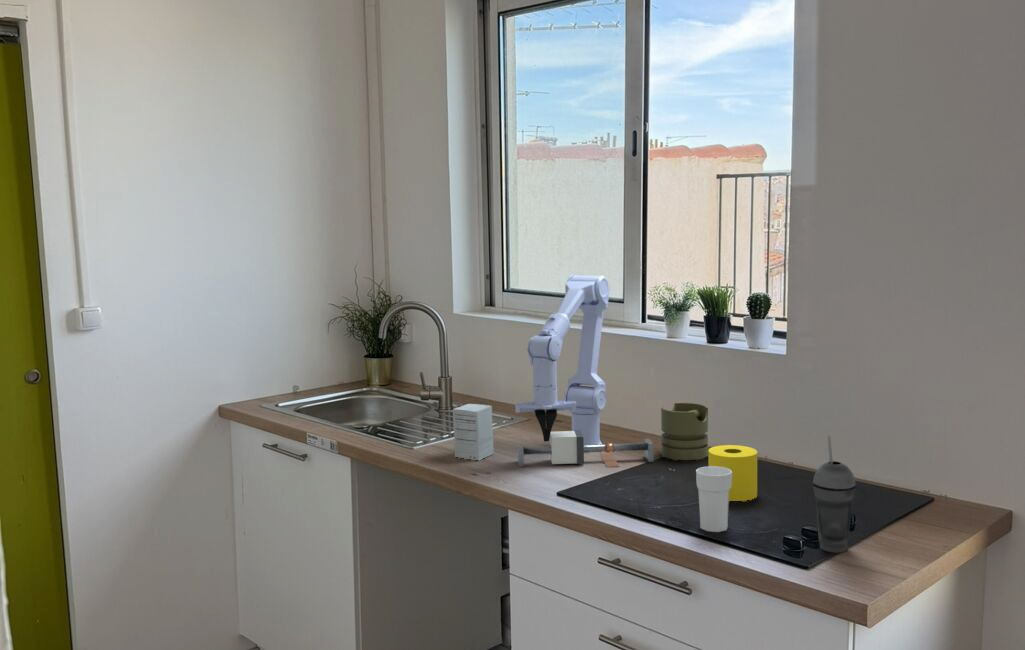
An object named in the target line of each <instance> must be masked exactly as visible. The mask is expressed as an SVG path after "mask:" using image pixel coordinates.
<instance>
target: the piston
mask: <svg viewBox="0 0 1025 650" xmlns="http://www.w3.org/2000/svg"><path fill="white" fill-rule="evenodd" d="M673 405H674V406H673V407H672V408H673V409H672V410H670V409H666V408H664V406H661V407H660V413H661V414H660V415H661V417H660V418H661V419H660V420H661V421H660V422H661V426H660V427H661V431H662V432H663V433H661V435H660V436H661V439H660V440H661V457H663V458H664V457H667V458H672V459H682V460H693V459H702V458H705V457H707V456H708V450H709V435H708V434H707V432H708V431H709V407H708V405H705V404H702V403H696V402H675V403H674V404H673ZM708 457H709V456H708ZM708 457H707V458H708ZM667 458H666V459H667ZM705 459H706V458H705ZM702 460H703V459H702Z"/></svg>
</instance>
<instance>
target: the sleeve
mask: <svg viewBox="0 0 1025 650" xmlns="http://www.w3.org/2000/svg"><path fill="white" fill-rule="evenodd" d="M549 446H551V454H549V456H550V461H551V465H564V464H565V465H566V464H567V465H568V464H577V436H576V434H575V432H574V431H572V430H562V431H560V430H559V431H558V430H557V431H551V433H550V439H549Z"/></svg>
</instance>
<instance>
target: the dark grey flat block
mask: <svg viewBox="0 0 1025 650" xmlns="http://www.w3.org/2000/svg"><path fill="white" fill-rule="evenodd" d="M574 432H575V434H576V436H577V463H576V464H577V465H579V464H585V453H584V438H583V435H582V433H581V430H575V431H574Z"/></svg>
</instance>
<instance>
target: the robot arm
mask: <svg viewBox="0 0 1025 650" xmlns="http://www.w3.org/2000/svg"><path fill="white" fill-rule="evenodd" d="M564 285H565V288H564V289H565V292H564V293H565V295H564V297H563V300H562V302H561V303H560V305H559V308H558V310H557V312H556V313H555V312H554V313H551V314H550V315H549V317H548V318H547V320H546V321H545V323H544V325H543V326H542V328H541V329H540V331H539V332H538V335H537V334H535V335H533V336H532V337H531V338H530V339H529V340H528V344H527V345H528V346H527V348H526V351H527V355H528V357H529V360H530V366H531V367H532V379H533V380H532V383H533V384H532V385H533V391H532V392H533V401H528V402H527V401H526V402H515V413H517V414H519V413H531V412H534V414H535V417H536V419H537V421H538V423H539V425H540V426H539V427H540V429H541V431H542V436H543V442H550V433H551V432H552V429H553V426H554V423H555V421H556V419H557V417H558V412H559V411H560V412H562V411H568V412H570V413H571V431H575V430H581V433H582V435H583V438H584V445H600V444H603V443H602V441H601V439H600V438H601V435H600V434H601V433H600V432H601V431H600V429H601V428H600V412H602V411H603V410H604V408H605V406H606V403H607V392H606V389H607V388H606V386H607V384H606V382H605V381H604V380H603V379H602V378H601V377H600V376H599V375H597V374H598V365H599V356H600V349H601V348H600V347H601V346H600V345H601V338H602V330H603V329H602V328H603V321H604V320H603V319H604V311H605V310H606V309H608V306H609V305H608V304H609V300H610V299H609V297H610V285H609V281H608V280H607V278H606V277H605V275H575V274H572V275H570V276H568V278H567V280H566V282H565V284H564ZM578 309H580V310H581V312H582V314H583V316H582V323H581V325H582V327H581V333H580V343H579V351H578V361H577V371H576V373H575V374H574V375H573V376H571V377H569V378H568V380H567V383H566V384H567V385H566V388H565V391H564V394H563V400H558V373H557V372H558V370H557V369H558V368H557V363H558V362H557V360H558V359H559V358H560V356H561V354H562V353H561V352H562V347H563V344H564V343H563V341H564V338H565V337H566V335H567V333H568V332H569V330H570V329H571V321H570V320H571V319H572V317H574V314H575V313H576V311H578ZM584 385H585V386H584Z"/></svg>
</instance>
